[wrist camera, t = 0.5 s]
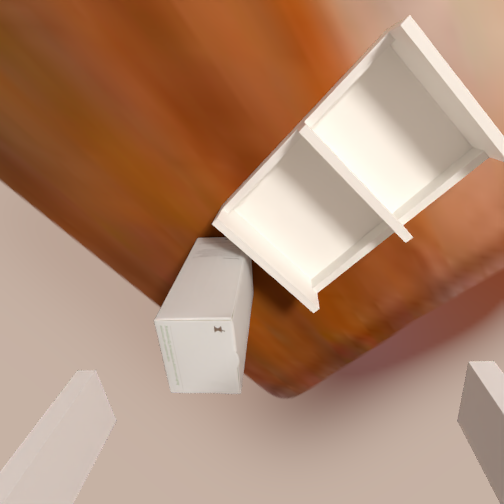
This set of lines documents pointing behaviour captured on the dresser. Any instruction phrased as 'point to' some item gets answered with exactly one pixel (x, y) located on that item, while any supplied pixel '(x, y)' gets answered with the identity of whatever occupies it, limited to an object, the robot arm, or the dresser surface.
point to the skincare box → (207, 319)
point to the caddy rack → (360, 164)
